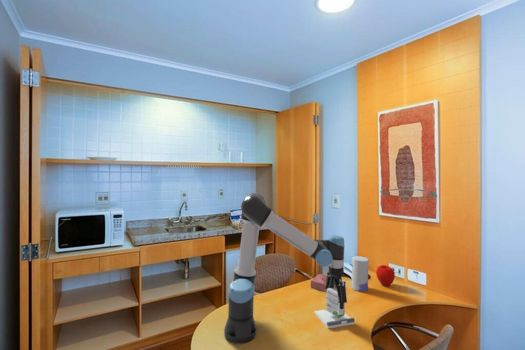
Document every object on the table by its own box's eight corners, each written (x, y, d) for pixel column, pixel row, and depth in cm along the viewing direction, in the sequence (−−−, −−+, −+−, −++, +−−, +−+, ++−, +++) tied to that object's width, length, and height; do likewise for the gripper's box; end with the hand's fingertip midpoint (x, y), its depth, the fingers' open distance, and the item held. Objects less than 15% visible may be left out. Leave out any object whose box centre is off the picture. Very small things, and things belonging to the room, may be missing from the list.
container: (354, 283, 180) (355, 254, 180) (369, 287, 175) (370, 258, 174) (349, 289, 172) (350, 258, 172) (365, 293, 167) (366, 262, 166)
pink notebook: (310, 288, 173) (310, 281, 173) (319, 280, 185) (319, 273, 185) (331, 294, 165) (331, 286, 165) (339, 286, 177) (339, 278, 177)
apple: (372, 281, 184) (372, 262, 184) (387, 281, 186) (388, 262, 185) (381, 289, 173) (382, 269, 172) (398, 289, 174) (399, 269, 173)
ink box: (345, 315, 135) (345, 292, 134) (338, 318, 132) (339, 295, 132) (332, 307, 142) (332, 286, 141) (325, 310, 139) (326, 288, 139)
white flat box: (328, 328, 129) (328, 323, 129) (314, 313, 142) (314, 308, 142) (354, 324, 133) (354, 319, 133) (338, 309, 147) (339, 304, 146)
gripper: (355, 273, 127) (354, 319, 127) (331, 258, 148) (330, 298, 148) (341, 275, 125) (340, 322, 125) (319, 259, 146) (318, 299, 146)
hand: (335, 309), depth 137 cm, fingers closed on ink box, 9 cm apart
